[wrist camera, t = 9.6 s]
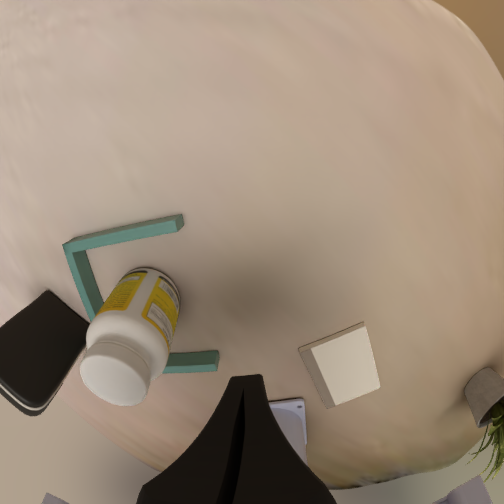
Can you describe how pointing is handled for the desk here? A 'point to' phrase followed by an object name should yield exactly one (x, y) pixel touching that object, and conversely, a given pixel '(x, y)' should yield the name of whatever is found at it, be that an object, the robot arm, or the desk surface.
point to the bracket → (93, 298)
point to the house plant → (488, 409)
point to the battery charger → (39, 352)
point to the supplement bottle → (131, 337)
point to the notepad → (342, 365)
